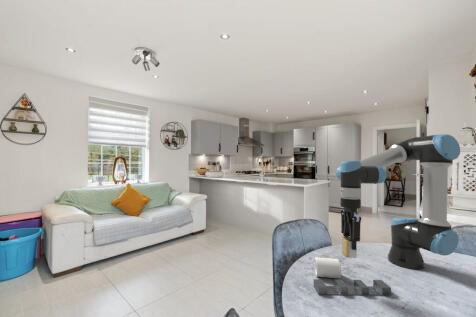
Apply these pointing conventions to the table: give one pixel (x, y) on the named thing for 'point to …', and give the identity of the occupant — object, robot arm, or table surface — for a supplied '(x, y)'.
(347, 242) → the block
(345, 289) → the rail
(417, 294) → the table surface
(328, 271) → the mug
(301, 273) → the table surface
